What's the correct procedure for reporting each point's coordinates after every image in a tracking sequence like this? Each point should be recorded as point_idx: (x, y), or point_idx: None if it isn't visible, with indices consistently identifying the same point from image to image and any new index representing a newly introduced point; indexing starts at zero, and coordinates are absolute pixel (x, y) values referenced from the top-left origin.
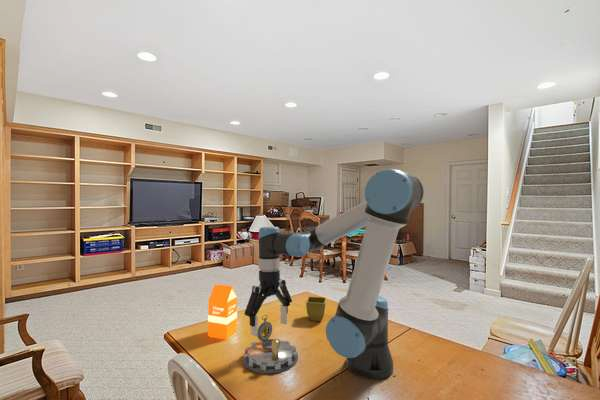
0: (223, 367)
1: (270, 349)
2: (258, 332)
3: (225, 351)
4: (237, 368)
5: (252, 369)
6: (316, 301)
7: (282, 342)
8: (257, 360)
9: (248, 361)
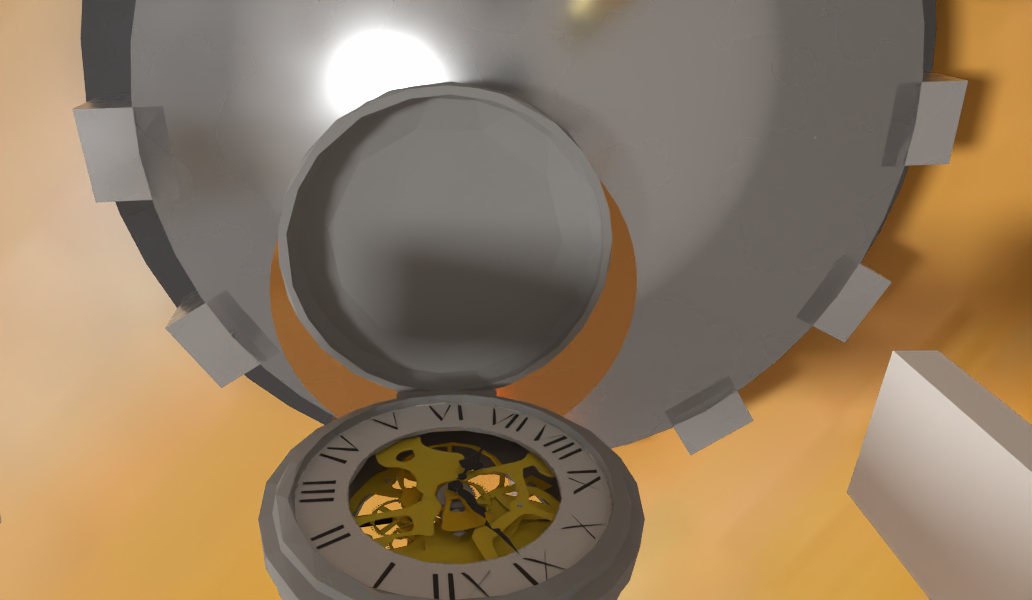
0: (997, 357)
1: (569, 135)
2: (641, 507)
3: (753, 582)
4: (946, 237)
5: (930, 50)
6: None
7: (202, 198)
8: (887, 70)
9: None
